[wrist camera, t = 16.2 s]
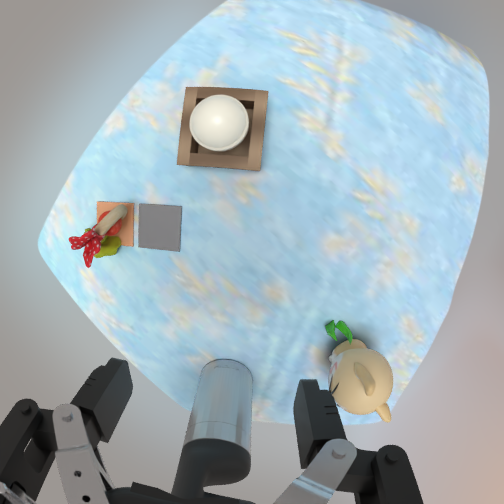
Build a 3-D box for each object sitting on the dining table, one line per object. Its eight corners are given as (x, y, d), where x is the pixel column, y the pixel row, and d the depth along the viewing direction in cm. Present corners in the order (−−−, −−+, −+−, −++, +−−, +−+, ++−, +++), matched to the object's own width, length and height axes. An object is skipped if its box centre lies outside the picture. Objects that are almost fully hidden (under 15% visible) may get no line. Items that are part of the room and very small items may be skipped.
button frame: (259, 171, 37) (259, 170, 32) (186, 165, 37) (176, 164, 32) (266, 101, 34) (268, 91, 29) (194, 97, 34) (186, 87, 29)
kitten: (300, 335, 44) (316, 400, 29) (354, 303, 42) (391, 358, 27) (337, 386, 47) (356, 446, 32) (383, 360, 45) (415, 414, 31)
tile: (133, 246, 40) (132, 246, 40) (98, 242, 40) (97, 242, 39) (133, 203, 38) (133, 203, 38) (98, 201, 38) (97, 201, 38)
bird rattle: (115, 197, 40) (79, 240, 38) (98, 178, 29) (51, 235, 27) (142, 223, 41) (105, 267, 39) (132, 212, 30) (83, 270, 28)
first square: (179, 251, 40) (179, 251, 40) (139, 246, 40) (138, 247, 40) (181, 206, 38) (181, 206, 38) (139, 203, 38) (139, 203, 38)
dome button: (246, 155, 33) (244, 150, 26) (195, 151, 33) (180, 146, 26) (251, 106, 31) (250, 90, 24) (201, 103, 31) (188, 87, 24)
